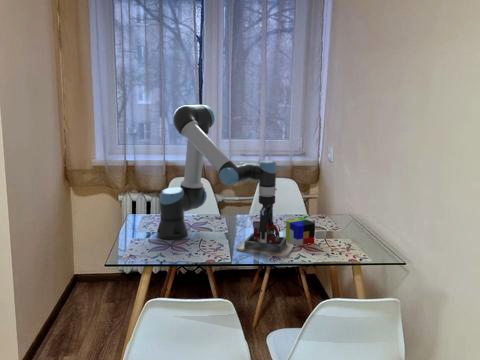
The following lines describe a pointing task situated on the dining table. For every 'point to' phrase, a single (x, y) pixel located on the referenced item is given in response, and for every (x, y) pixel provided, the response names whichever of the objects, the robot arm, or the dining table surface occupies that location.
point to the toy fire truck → (270, 226)
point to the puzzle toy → (300, 231)
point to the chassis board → (266, 247)
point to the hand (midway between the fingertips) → (265, 242)
